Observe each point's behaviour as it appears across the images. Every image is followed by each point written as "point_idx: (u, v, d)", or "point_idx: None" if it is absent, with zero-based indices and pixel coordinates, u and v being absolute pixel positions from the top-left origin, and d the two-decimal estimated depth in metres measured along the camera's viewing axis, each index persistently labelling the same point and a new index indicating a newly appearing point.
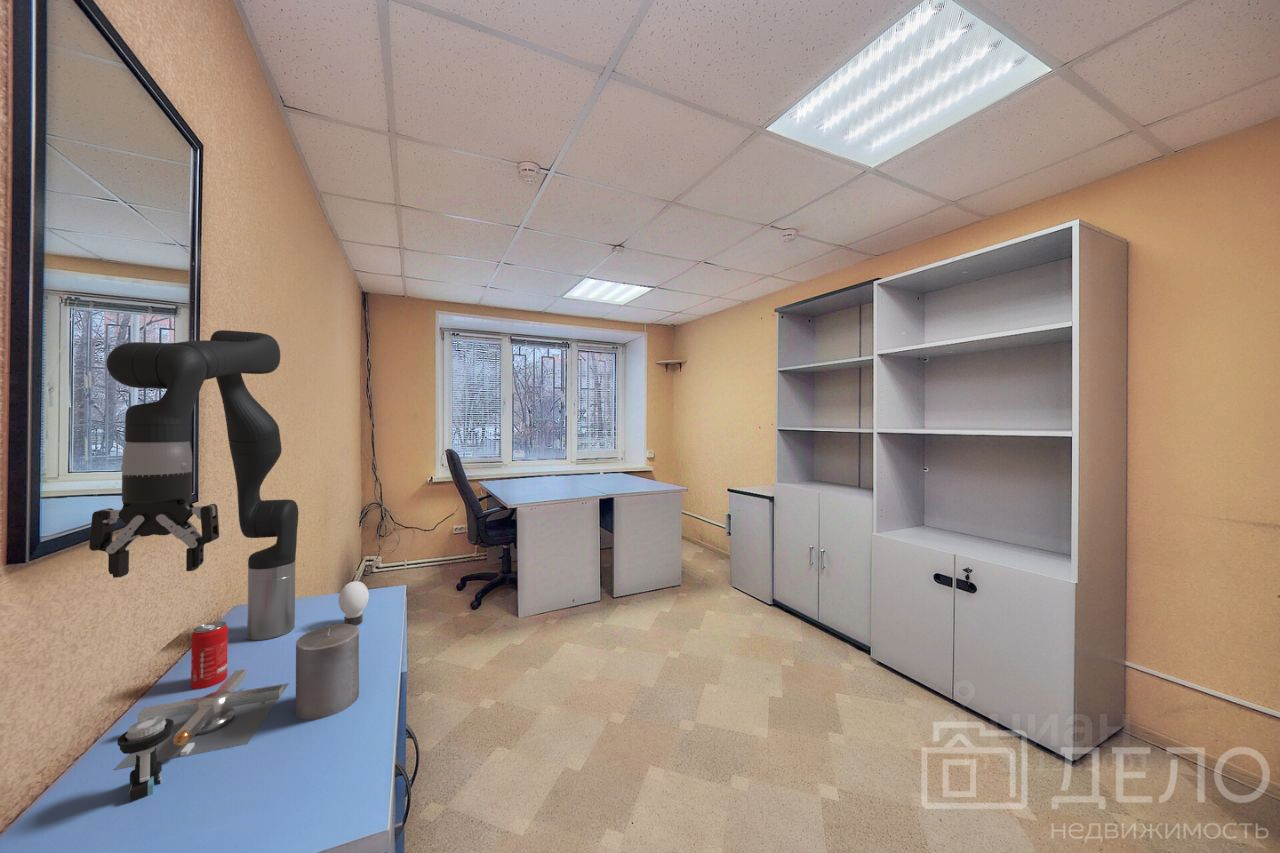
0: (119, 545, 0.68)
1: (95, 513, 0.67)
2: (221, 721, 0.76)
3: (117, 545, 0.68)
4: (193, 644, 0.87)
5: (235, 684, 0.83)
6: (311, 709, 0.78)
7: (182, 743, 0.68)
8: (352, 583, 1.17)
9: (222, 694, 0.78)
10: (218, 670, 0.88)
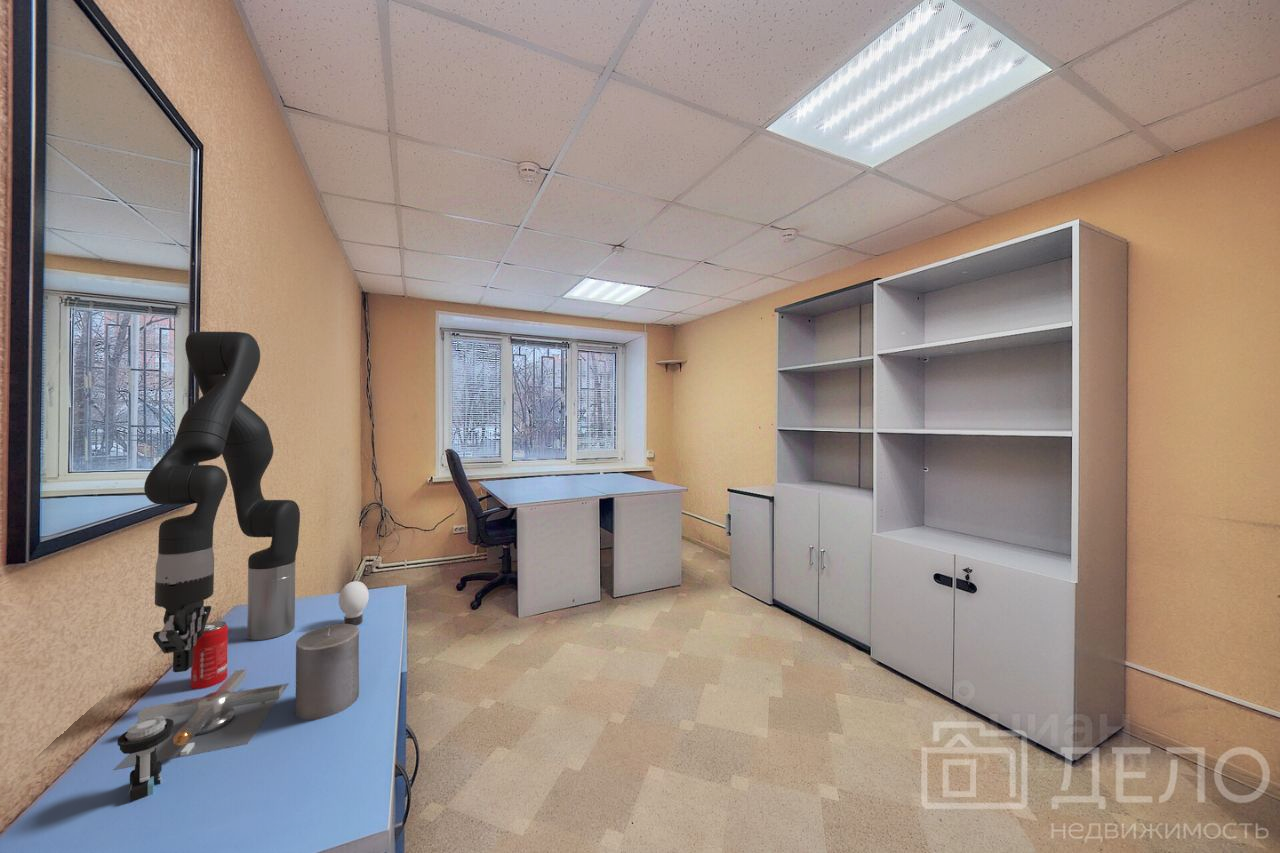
0: (190, 640, 0.81)
1: (172, 634, 0.76)
2: (221, 721, 0.76)
3: (189, 641, 0.81)
4: None
5: (235, 684, 0.83)
6: (311, 709, 0.78)
7: (182, 743, 0.68)
8: (352, 583, 1.17)
9: (222, 694, 0.78)
10: (218, 670, 0.88)
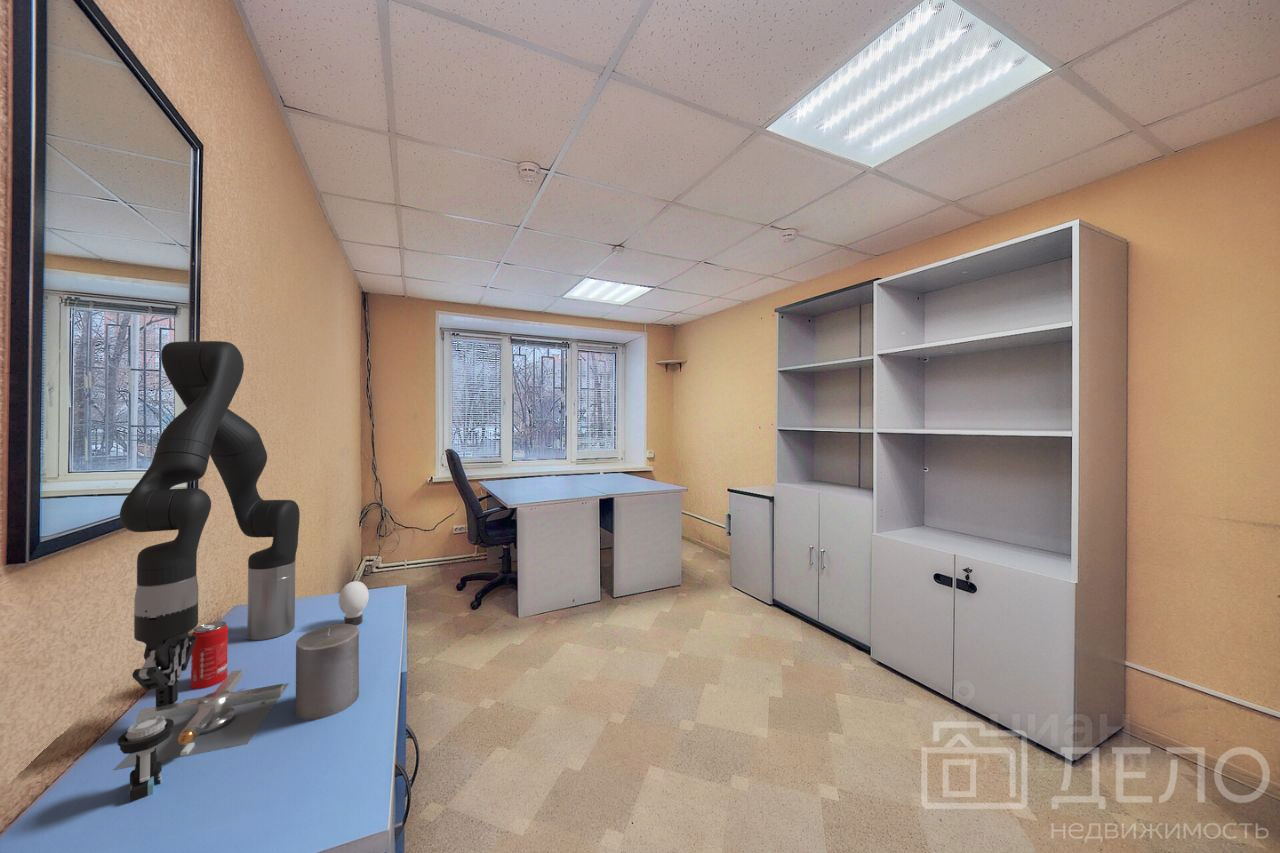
0: (174, 674, 0.76)
1: (153, 671, 0.71)
2: (223, 720, 0.76)
3: (173, 675, 0.76)
4: None
5: (233, 684, 0.83)
6: (311, 709, 0.78)
7: (187, 742, 0.69)
8: (352, 583, 1.17)
9: (222, 694, 0.78)
10: (218, 670, 0.88)
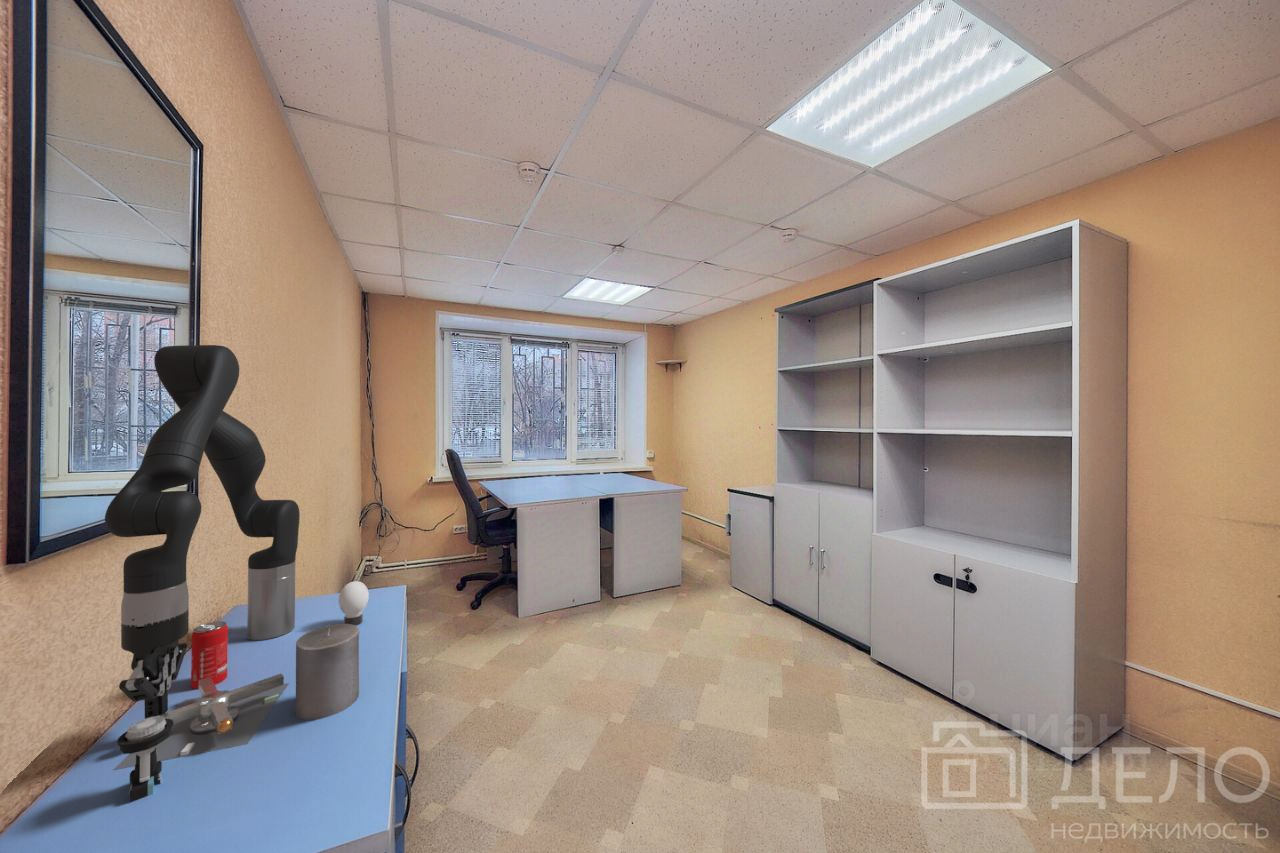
0: (163, 684, 0.73)
1: (141, 682, 0.68)
2: (233, 714, 0.77)
3: (163, 685, 0.73)
4: (193, 644, 0.87)
5: None
6: (311, 709, 0.78)
7: (229, 729, 0.72)
8: (352, 583, 1.17)
9: (221, 693, 0.79)
10: (218, 670, 0.88)
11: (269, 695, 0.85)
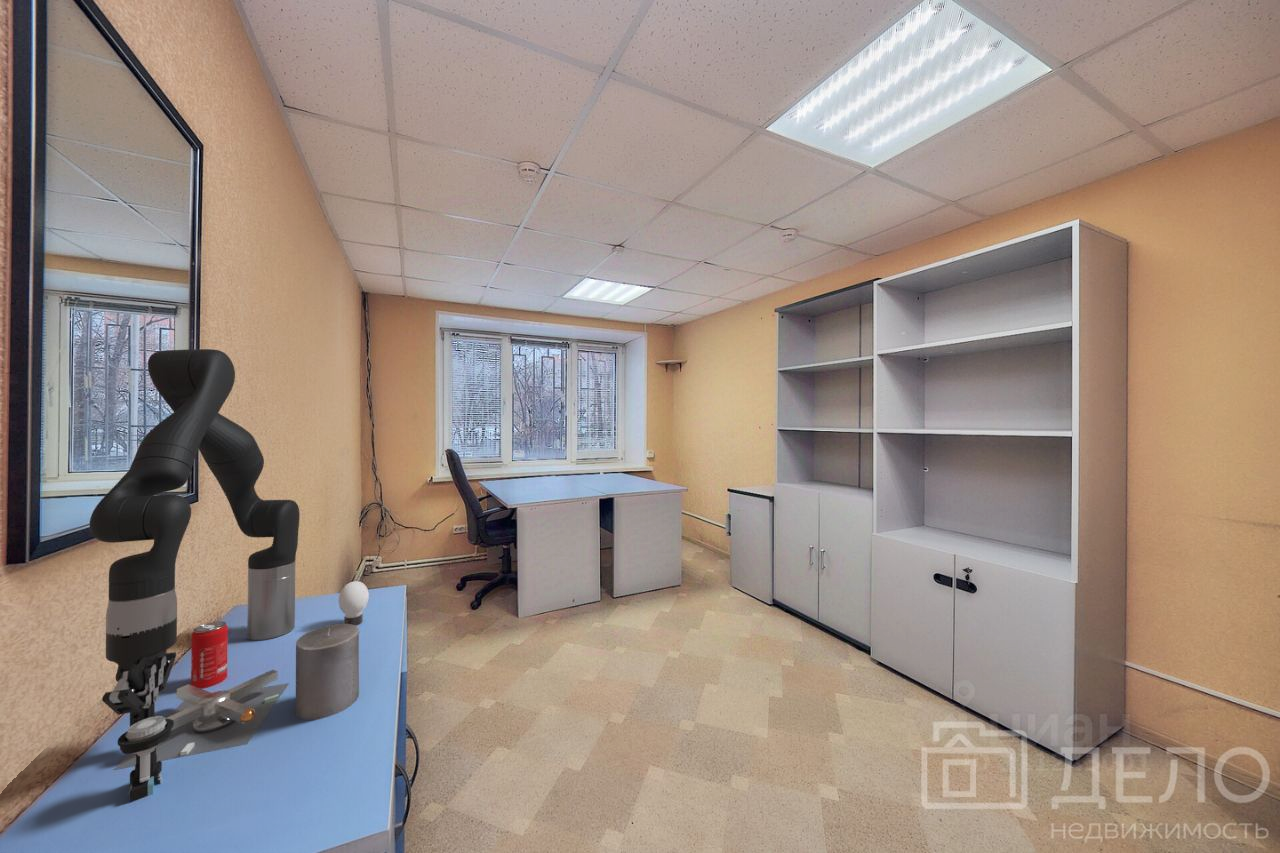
0: (150, 696, 0.70)
1: (126, 694, 0.65)
2: None
3: (149, 697, 0.70)
4: (193, 644, 0.87)
5: None
6: (311, 709, 0.78)
7: (253, 717, 0.74)
8: (352, 583, 1.17)
9: (219, 693, 0.79)
10: (218, 670, 0.88)
11: (269, 695, 0.85)
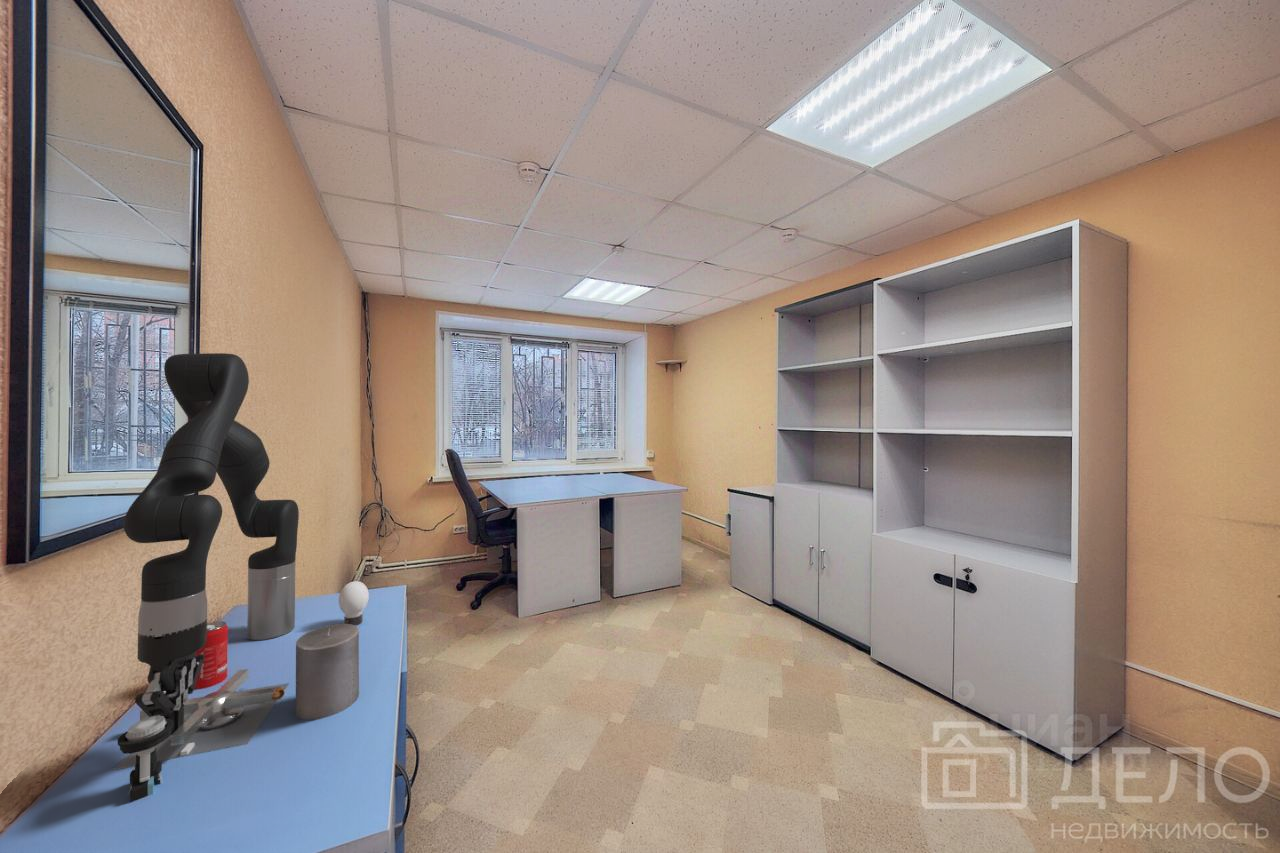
0: (180, 698, 0.70)
1: (158, 696, 0.65)
2: None
3: (179, 699, 0.70)
4: None
5: None
6: (311, 709, 0.78)
7: (283, 694, 0.81)
8: (352, 583, 1.17)
9: (214, 694, 0.78)
10: (218, 670, 0.88)
11: None
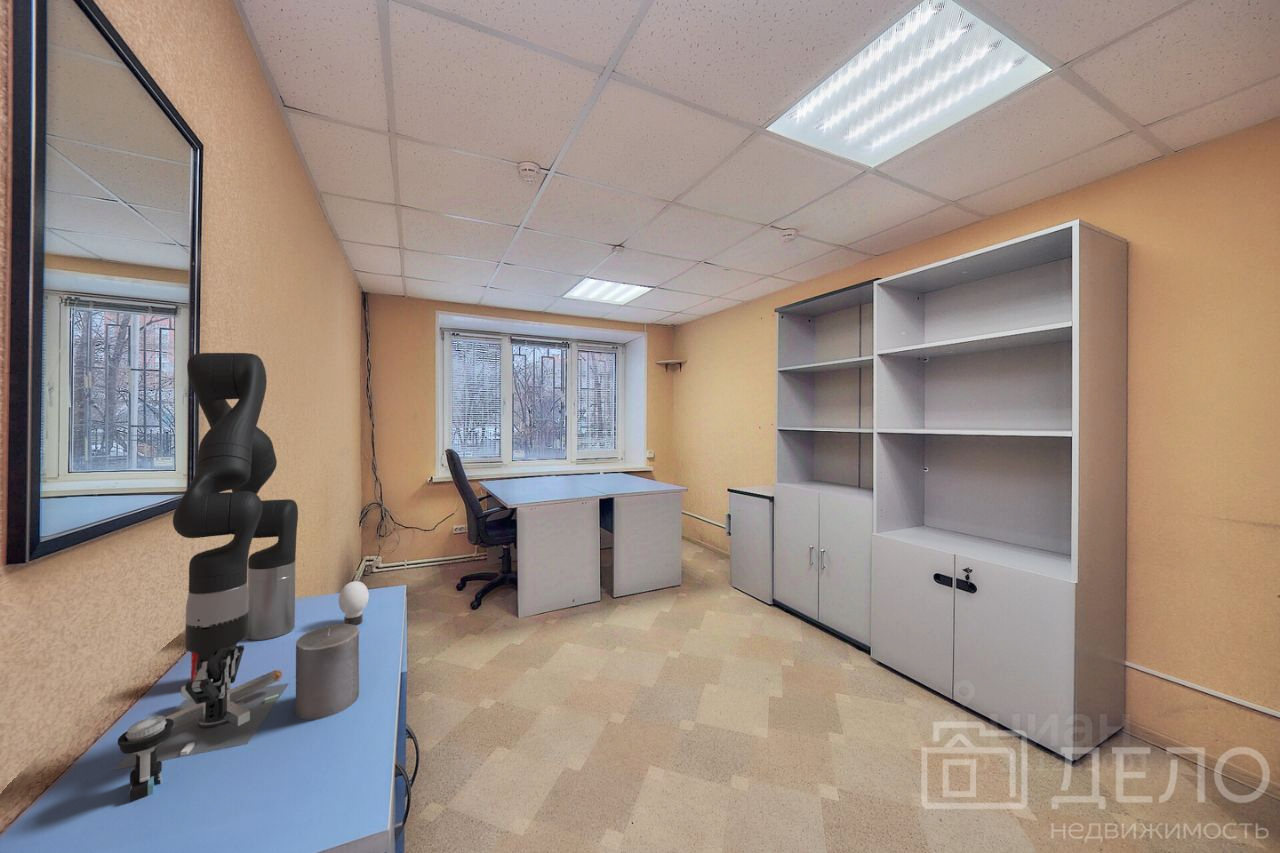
0: (224, 686, 0.73)
1: (206, 683, 0.68)
2: None
3: (223, 688, 0.73)
4: None
5: None
6: (311, 709, 0.78)
7: None
8: (352, 583, 1.17)
9: None
10: None
11: (269, 695, 0.85)
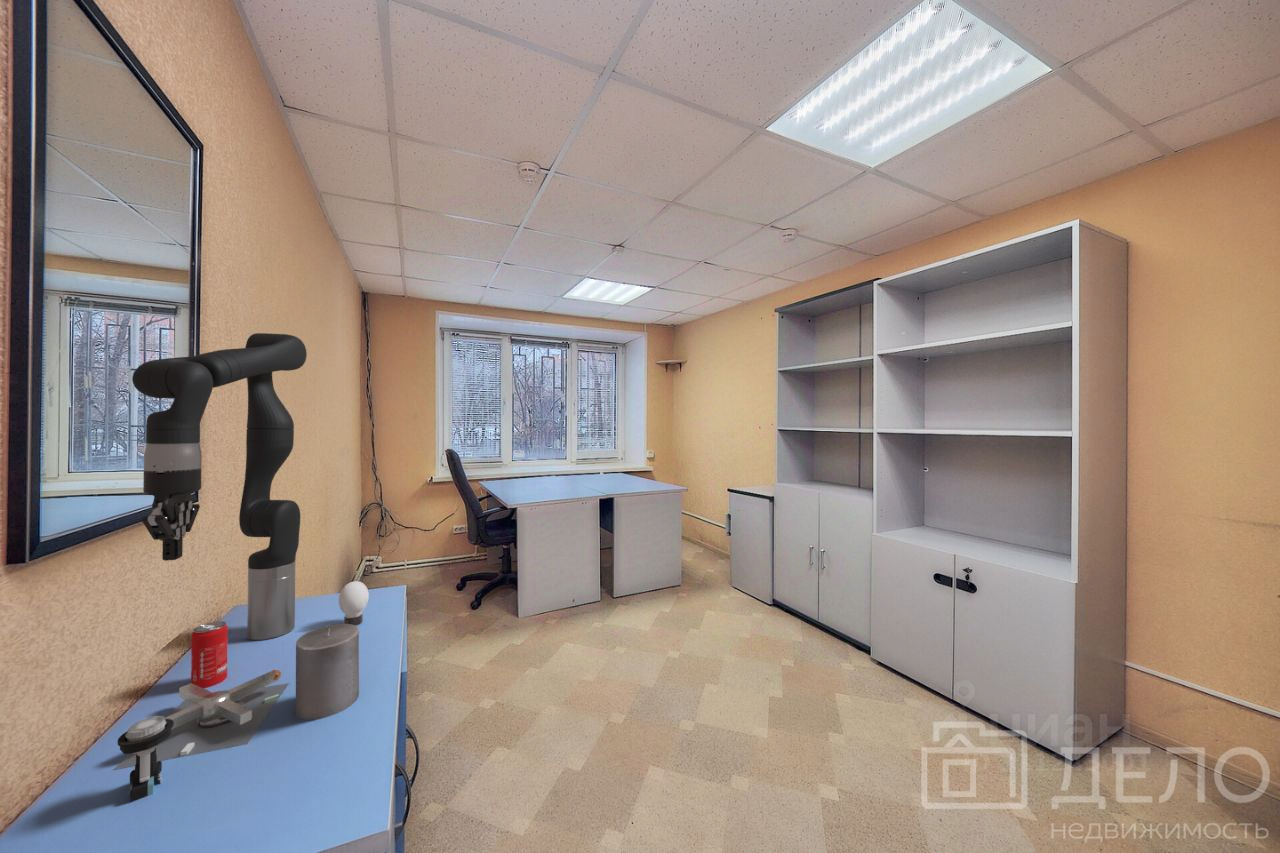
0: (179, 530, 0.84)
1: (161, 518, 0.79)
2: None
3: (178, 531, 0.83)
4: (193, 644, 0.86)
5: None
6: (311, 709, 0.78)
7: None
8: (352, 583, 1.17)
9: (207, 697, 0.77)
10: (218, 670, 0.88)
11: (269, 695, 0.85)
